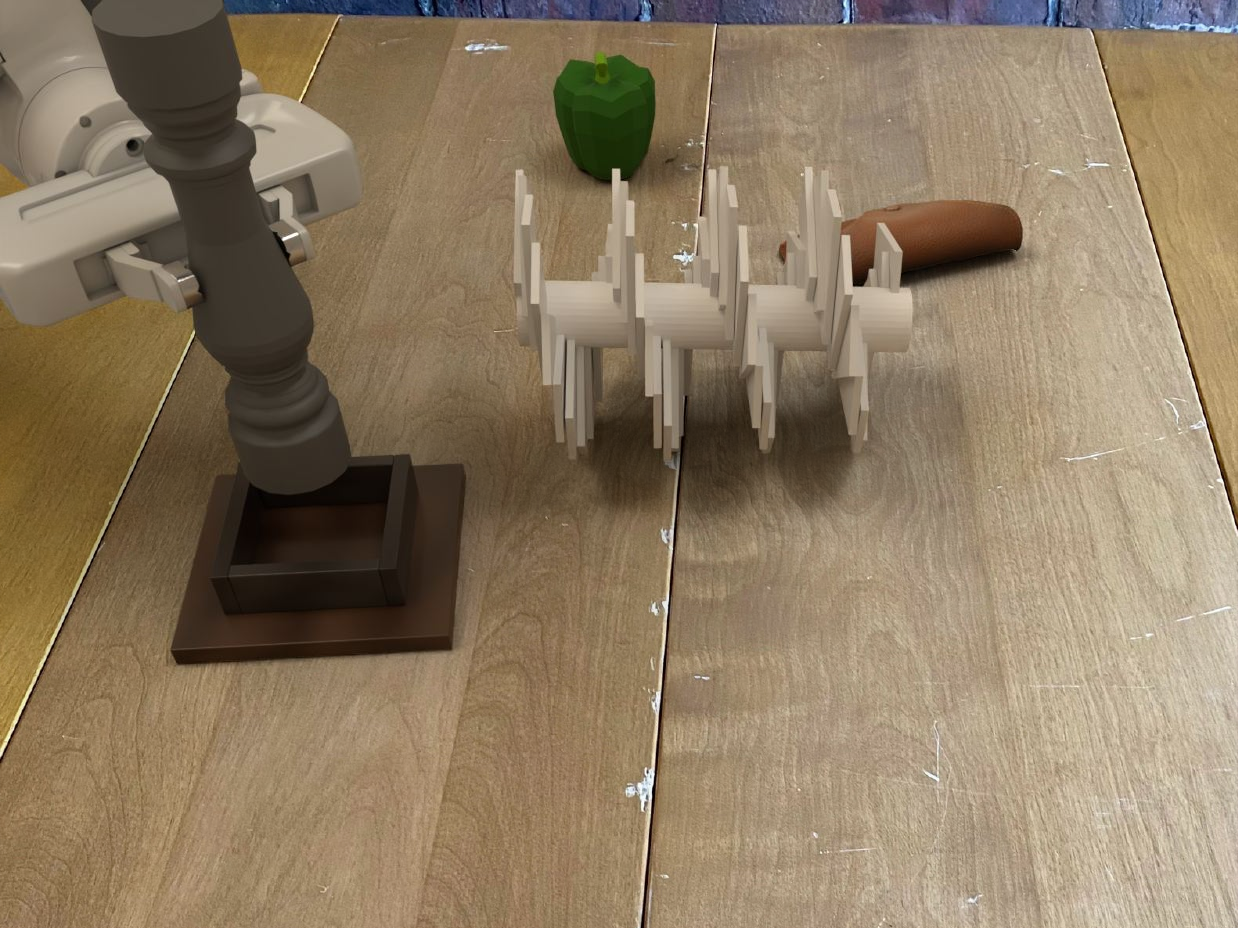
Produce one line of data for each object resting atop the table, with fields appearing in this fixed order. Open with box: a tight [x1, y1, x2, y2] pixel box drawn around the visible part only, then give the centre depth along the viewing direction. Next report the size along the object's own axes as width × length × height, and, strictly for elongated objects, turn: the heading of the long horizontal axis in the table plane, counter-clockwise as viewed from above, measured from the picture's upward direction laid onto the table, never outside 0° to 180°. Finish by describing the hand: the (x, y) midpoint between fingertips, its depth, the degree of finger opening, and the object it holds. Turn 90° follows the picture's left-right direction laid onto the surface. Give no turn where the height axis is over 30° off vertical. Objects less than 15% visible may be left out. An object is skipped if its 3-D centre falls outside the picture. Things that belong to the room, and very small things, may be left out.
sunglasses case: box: [778, 199, 1024, 287], centre depth 109 cm, size 18×7×7 cm
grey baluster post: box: [92, 0, 353, 495], centre depth 72 cm, size 6×6×25 cm
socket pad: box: [169, 453, 467, 665], centre depth 86 cm, size 16×16×4 cm
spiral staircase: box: [513, 165, 914, 463], centre depth 89 cm, size 18×18×25 cm
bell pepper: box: [552, 51, 657, 181], centre depth 115 cm, size 8×8×10 cm
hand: (246, 272), depth 71 cm, fingers closed on grey baluster post, 5 cm apart
